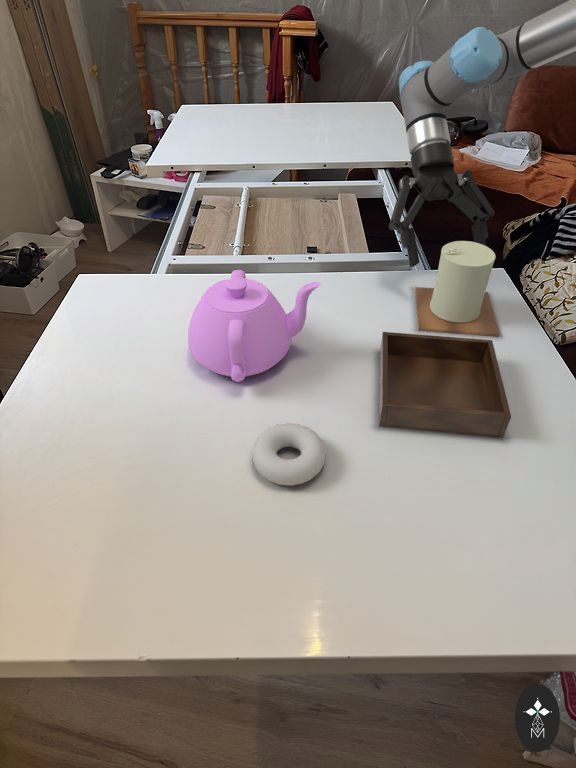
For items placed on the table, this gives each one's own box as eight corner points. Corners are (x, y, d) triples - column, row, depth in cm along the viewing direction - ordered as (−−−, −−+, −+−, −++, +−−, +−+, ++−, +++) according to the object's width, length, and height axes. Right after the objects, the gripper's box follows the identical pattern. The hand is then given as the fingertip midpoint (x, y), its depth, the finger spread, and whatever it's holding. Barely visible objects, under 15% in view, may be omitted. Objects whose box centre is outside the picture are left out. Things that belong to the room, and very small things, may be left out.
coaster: (487, 294, 104) (488, 291, 104) (498, 336, 94) (499, 334, 94) (414, 289, 106) (415, 286, 105) (418, 330, 95) (418, 328, 95)
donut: (336, 478, 71) (309, 426, 78) (338, 462, 69) (310, 410, 75) (265, 500, 68) (243, 444, 75) (265, 484, 66) (242, 427, 73)
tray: (485, 361, 89) (492, 340, 86) (502, 438, 76) (511, 416, 73) (379, 352, 91) (382, 331, 88) (378, 426, 78) (382, 405, 75)
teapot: (324, 393, 83) (329, 320, 74) (184, 398, 82) (171, 325, 73) (312, 313, 99) (314, 246, 90) (195, 317, 99) (186, 249, 89)
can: (426, 295, 103) (437, 237, 95) (474, 295, 103) (489, 238, 95) (433, 322, 96) (446, 263, 88) (485, 323, 96) (503, 264, 88)
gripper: (481, 155, 106) (499, 259, 105) (361, 165, 102) (379, 273, 101) (501, 135, 98) (521, 247, 97) (373, 145, 94) (392, 262, 93)
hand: (449, 261), depth 99 cm, fingers open, 13 cm apart
